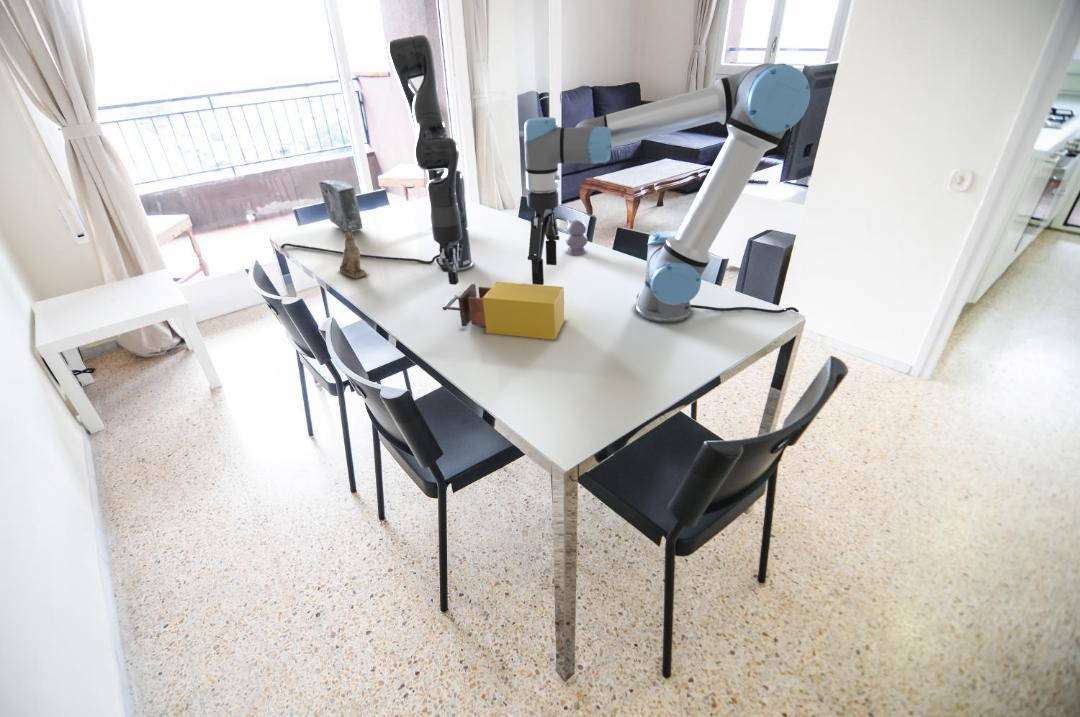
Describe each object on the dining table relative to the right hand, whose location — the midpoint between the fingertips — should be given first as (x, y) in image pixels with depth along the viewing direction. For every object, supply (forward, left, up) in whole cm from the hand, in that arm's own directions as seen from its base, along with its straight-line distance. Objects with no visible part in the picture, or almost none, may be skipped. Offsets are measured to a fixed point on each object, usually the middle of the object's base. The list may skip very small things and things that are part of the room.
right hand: (545, 274), depth 129 cm
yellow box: (+6, -3, -16) cm, 17 cm away
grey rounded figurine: (-23, -58, -16) cm, 65 cm away
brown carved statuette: (+59, -59, -16) cm, 85 cm away
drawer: (+15, -8, -15) cm, 23 cm away
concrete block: (+69, -116, -16) cm, 136 cm away
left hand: (+24, -12, -5) cm, 27 cm away
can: (+28, -107, -16) cm, 111 cm away
